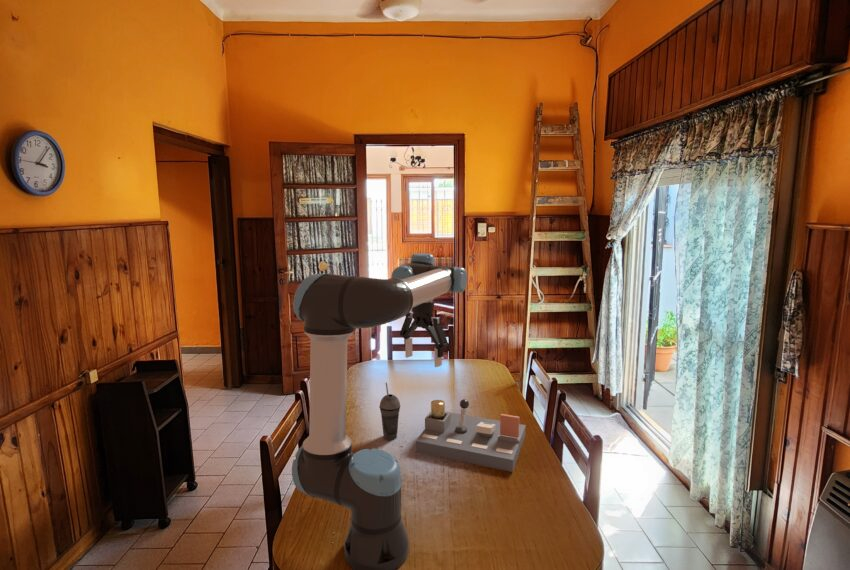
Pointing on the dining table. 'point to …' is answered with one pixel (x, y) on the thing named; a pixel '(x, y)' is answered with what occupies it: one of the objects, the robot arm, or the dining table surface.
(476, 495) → the dining table surface
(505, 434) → the red square plate
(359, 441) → the dining table surface
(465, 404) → the toggle lever
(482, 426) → the block
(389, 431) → the beverage cup
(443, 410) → the push button
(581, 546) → the dining table surface
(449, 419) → the console
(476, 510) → the dining table surface
